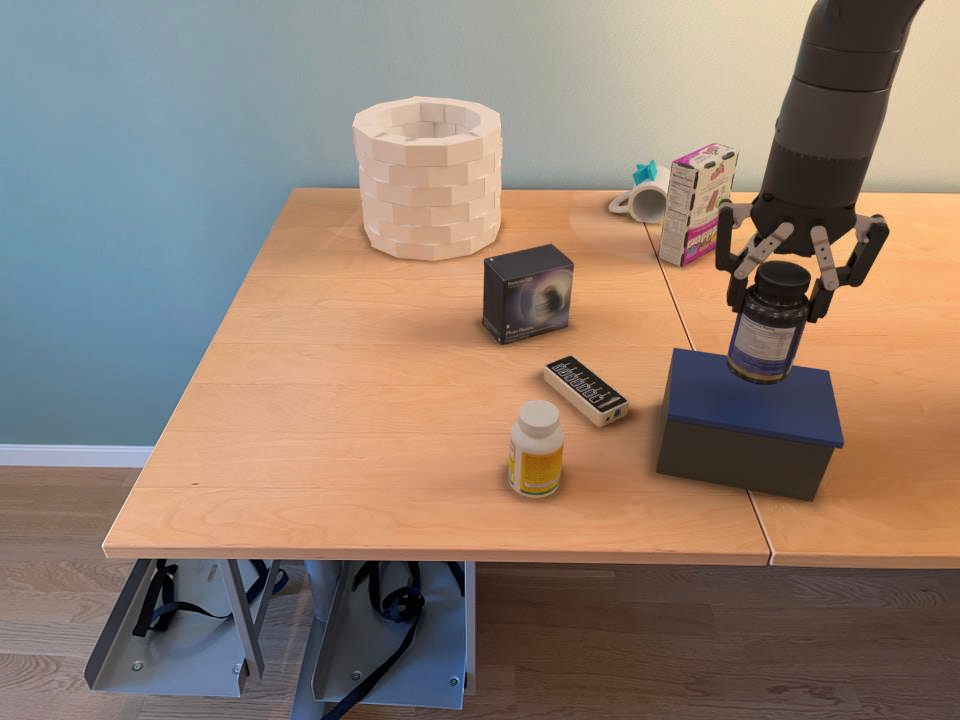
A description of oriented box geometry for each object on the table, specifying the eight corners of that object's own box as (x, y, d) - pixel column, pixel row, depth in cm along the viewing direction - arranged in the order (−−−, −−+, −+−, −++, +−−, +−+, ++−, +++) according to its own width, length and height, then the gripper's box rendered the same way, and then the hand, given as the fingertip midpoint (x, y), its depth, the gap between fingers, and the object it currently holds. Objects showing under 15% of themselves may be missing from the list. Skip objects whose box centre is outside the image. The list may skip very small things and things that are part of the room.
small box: (501, 349, 92) (503, 280, 86) (480, 324, 97) (480, 257, 91) (570, 329, 96) (576, 262, 90) (546, 306, 101) (551, 241, 94)
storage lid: (827, 376, 75) (829, 370, 74) (842, 449, 66) (844, 443, 65) (672, 353, 78) (673, 347, 78) (666, 419, 69) (668, 413, 69)
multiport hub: (569, 368, 89) (571, 353, 87) (628, 416, 81) (631, 401, 80) (542, 379, 87) (543, 365, 86) (599, 430, 80) (601, 414, 78)
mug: (669, 145, 125) (661, 169, 116) (681, 192, 129) (675, 219, 120) (606, 163, 130) (594, 188, 121) (620, 208, 134) (609, 234, 125)
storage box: (801, 429, 80) (820, 375, 75) (811, 504, 71) (835, 448, 66) (661, 406, 83) (672, 353, 78) (655, 475, 74) (666, 420, 69)
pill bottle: (750, 343, 73) (775, 249, 67) (801, 372, 69) (834, 275, 63) (712, 365, 70) (735, 268, 64) (763, 395, 66) (794, 296, 60)
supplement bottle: (498, 480, 73) (499, 411, 68) (533, 455, 76) (537, 387, 71) (535, 509, 70) (539, 439, 64) (570, 482, 73) (577, 413, 67)
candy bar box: (694, 237, 118) (713, 141, 108) (720, 247, 115) (742, 149, 105) (654, 258, 112) (670, 159, 102) (680, 270, 109) (700, 168, 99)
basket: (488, 268, 110) (489, 150, 98) (343, 255, 113) (328, 140, 102) (511, 203, 129) (514, 98, 118) (387, 194, 133) (378, 91, 121)
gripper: (731, 145, 54) (693, 324, 65) (934, 162, 51) (861, 347, 61) (730, 116, 60) (695, 284, 70) (912, 130, 57) (848, 303, 67)
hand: (772, 313), depth 66 cm, fingers closed on pill bottle, 6 cm apart
